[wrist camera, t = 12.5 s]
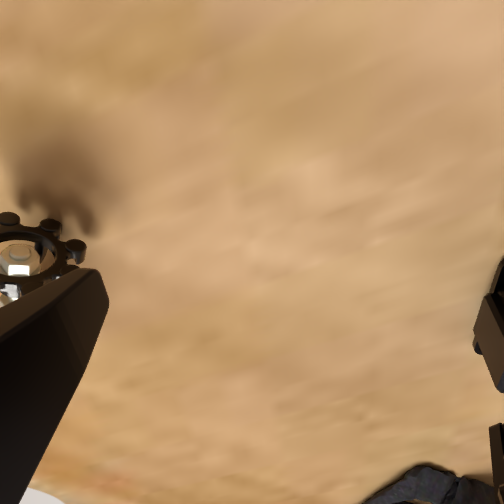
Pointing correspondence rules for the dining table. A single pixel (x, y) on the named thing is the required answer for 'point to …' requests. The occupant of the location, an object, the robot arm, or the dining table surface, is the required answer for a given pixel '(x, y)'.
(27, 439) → the robot arm
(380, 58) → the dining table surface
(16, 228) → the valve
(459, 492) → the dark slate chunk
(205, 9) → the dining table surface
